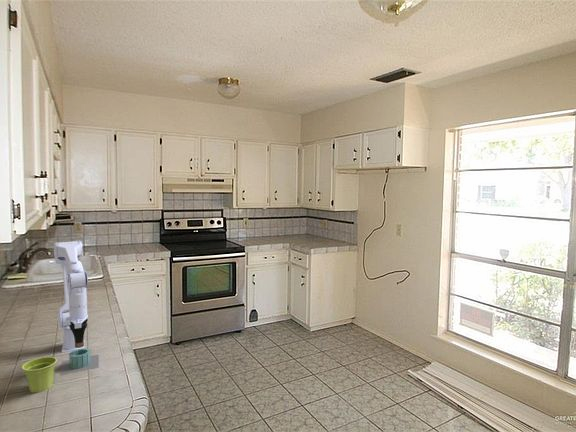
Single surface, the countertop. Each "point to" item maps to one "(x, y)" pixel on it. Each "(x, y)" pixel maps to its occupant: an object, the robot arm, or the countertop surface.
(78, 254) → the robot arm
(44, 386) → the plant pot
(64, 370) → the grey mat
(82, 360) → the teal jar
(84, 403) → the countertop surface
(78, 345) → the walnut peg
